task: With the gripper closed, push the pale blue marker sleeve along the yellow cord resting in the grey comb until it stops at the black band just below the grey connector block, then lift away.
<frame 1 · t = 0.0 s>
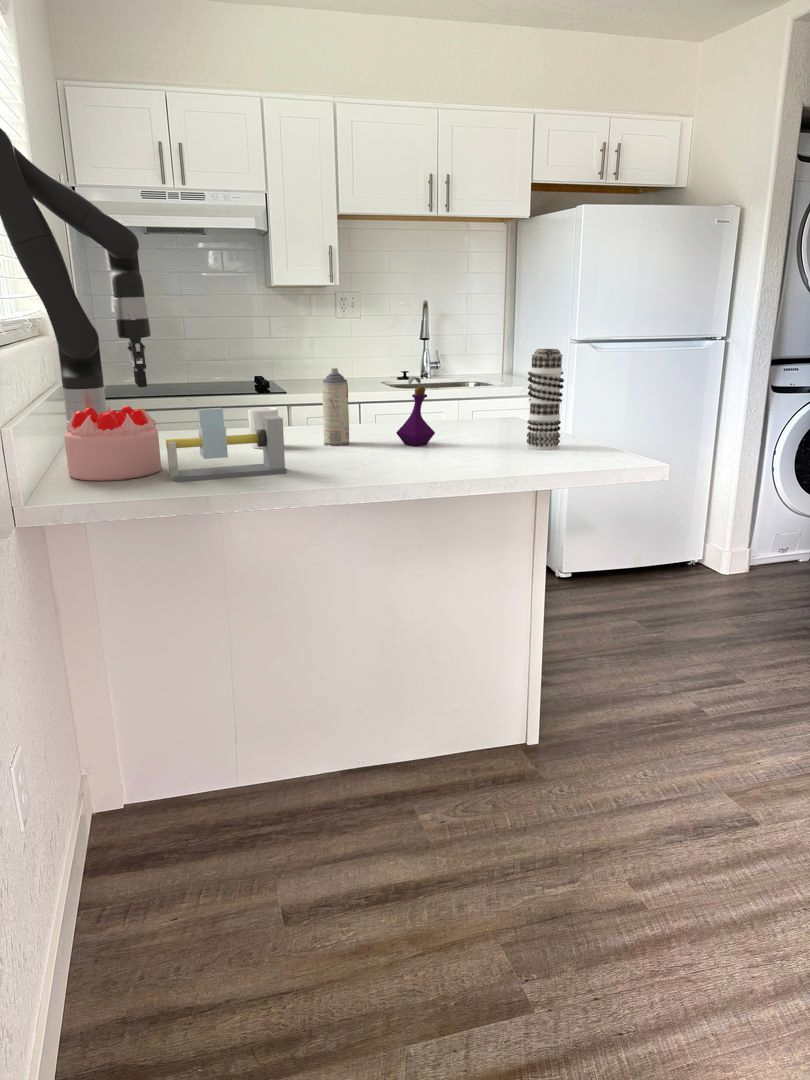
hand: (141, 385, 195), 17 cm above the table, fingers open, 8 cm apart
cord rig: (229, 474, 175), on the table
decorative candle: (542, 448, 207), on the table
white cup: (264, 447, 210), on the table
aerosol can: (336, 444, 214), on the table
perfume bottle: (415, 445, 212), on the table
cake: (117, 473, 178), on the table
marker sleeve: (212, 432, 172), point 9 cm above the table, slide at 0.0 cm
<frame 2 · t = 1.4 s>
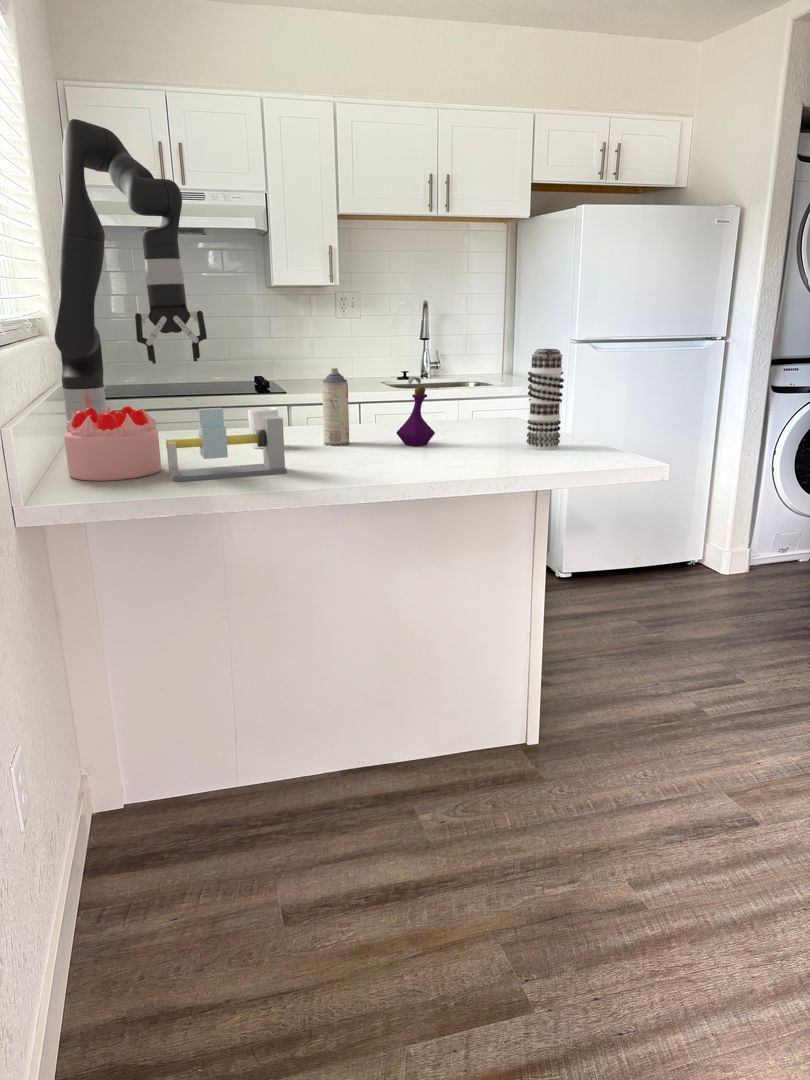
hand: (175, 362, 169), 24 cm above the table, fingers open, 8 cm apart
nothing on the table moved.
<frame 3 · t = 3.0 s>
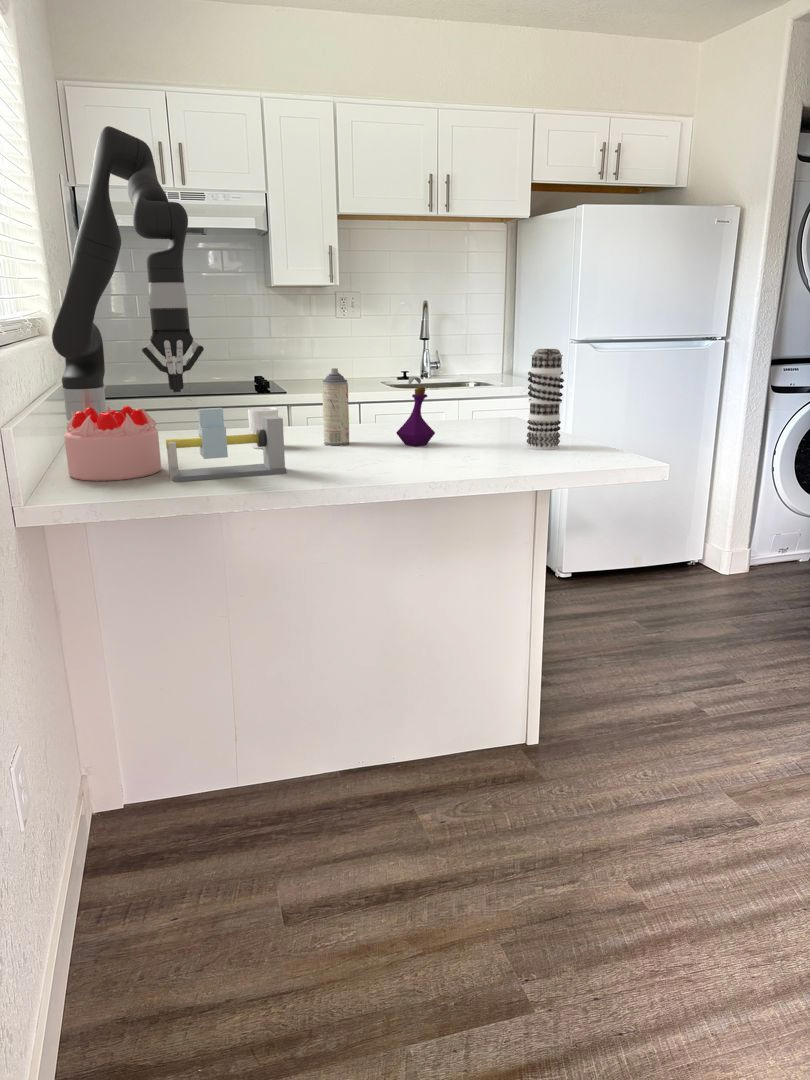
hand: (176, 391, 167), 18 cm above the table, fingers closed
nothing on the table moved.
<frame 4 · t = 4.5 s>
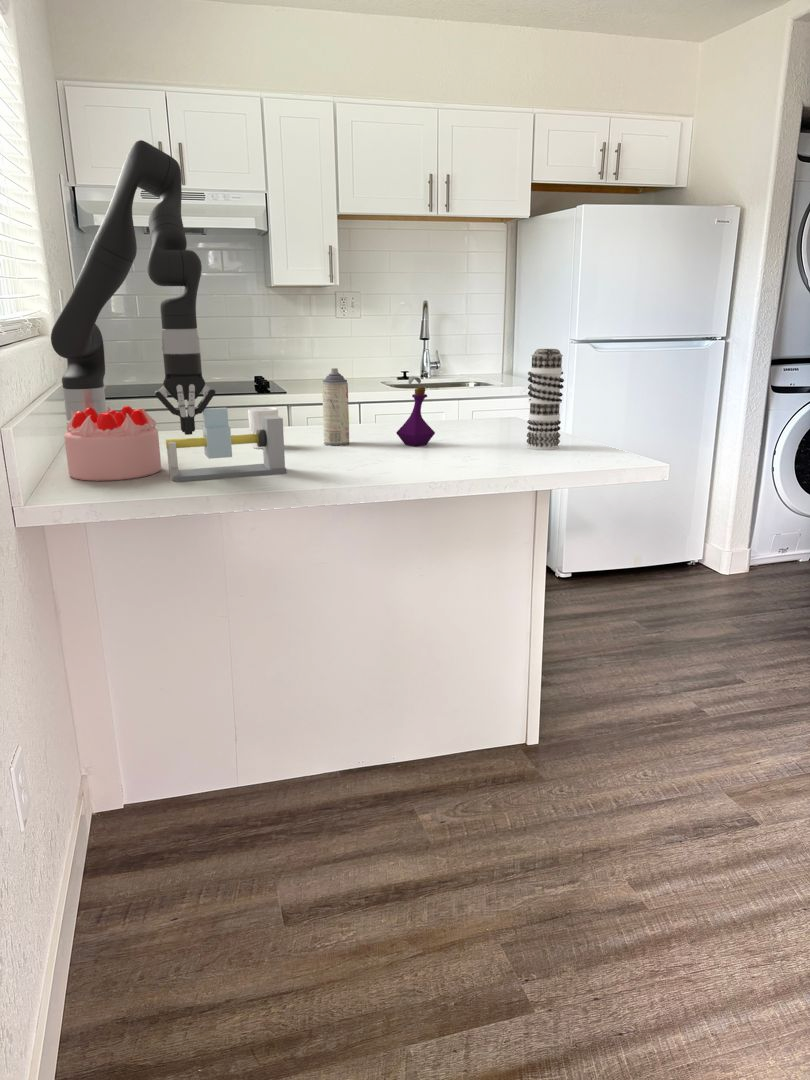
hand: (188, 434, 170), 9 cm above the table, fingers closed
marker sleeve: (216, 432, 172), point 9 cm above the table, slide at 1.0 cm, touching hand
everything else where it was.
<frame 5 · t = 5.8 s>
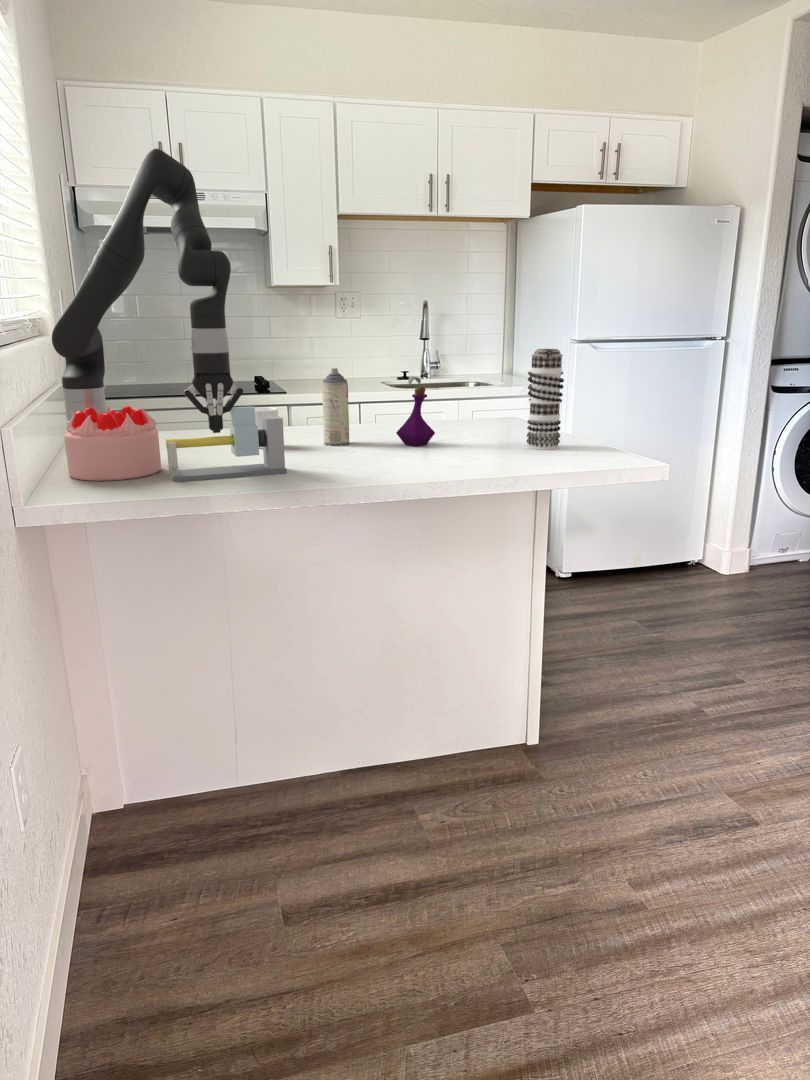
hand: (216, 432, 172), 9 cm above the table, fingers closed
marker sleeve: (243, 430, 174), point 9 cm above the table, slide at 6.9 cm, touching hand
everything else where it was.
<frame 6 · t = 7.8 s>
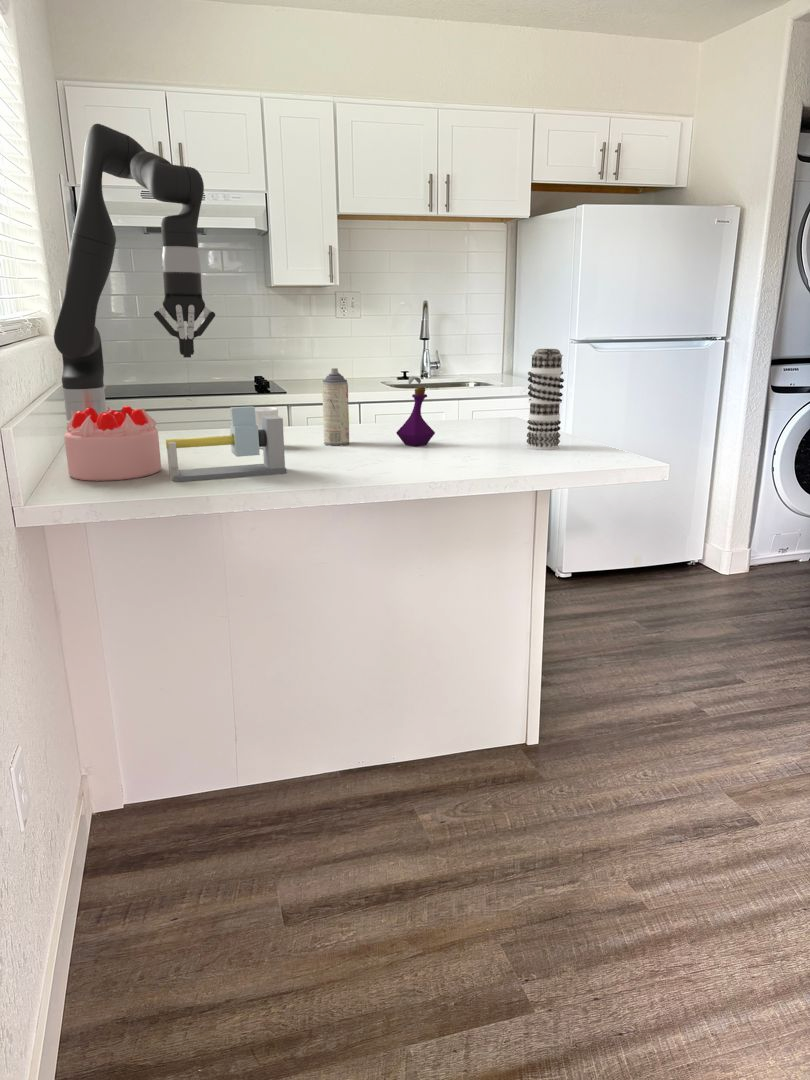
hand: (187, 357, 167), 25 cm above the table, fingers closed
marker sleeve: (244, 430, 174), point 9 cm above the table, slide at 6.9 cm
everything else where it was.
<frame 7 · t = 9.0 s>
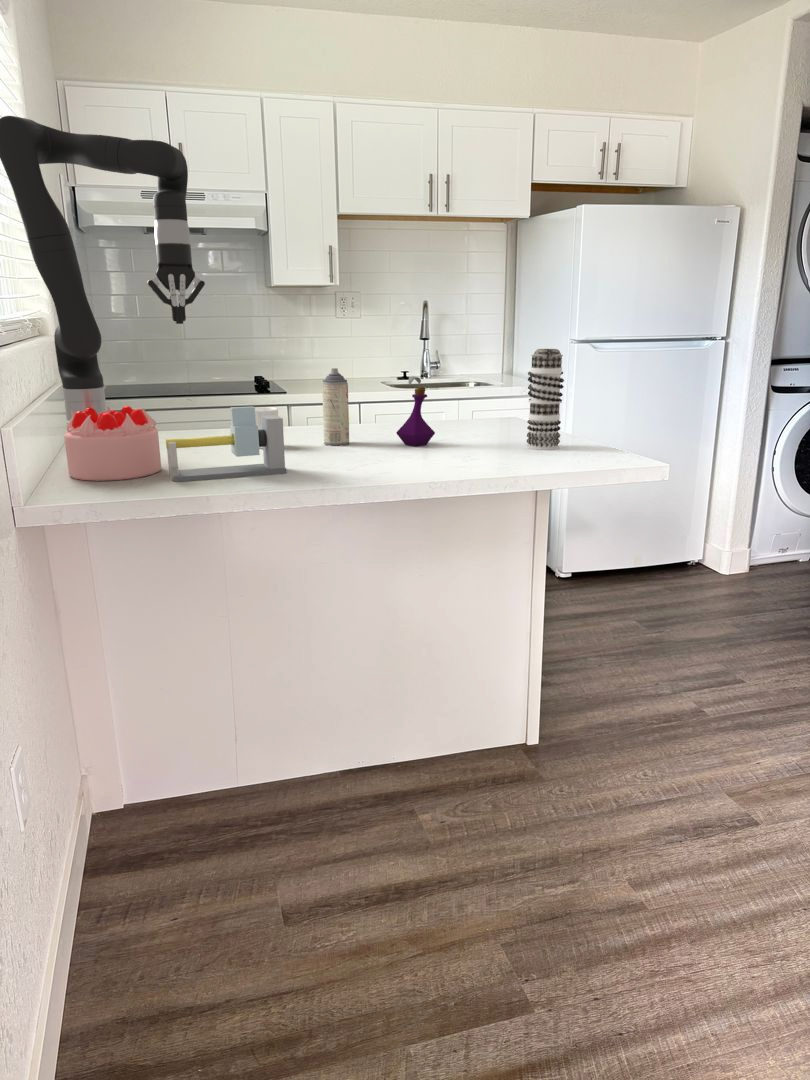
hand: (179, 323, 180), 32 cm above the table, fingers closed
nothing on the table moved.
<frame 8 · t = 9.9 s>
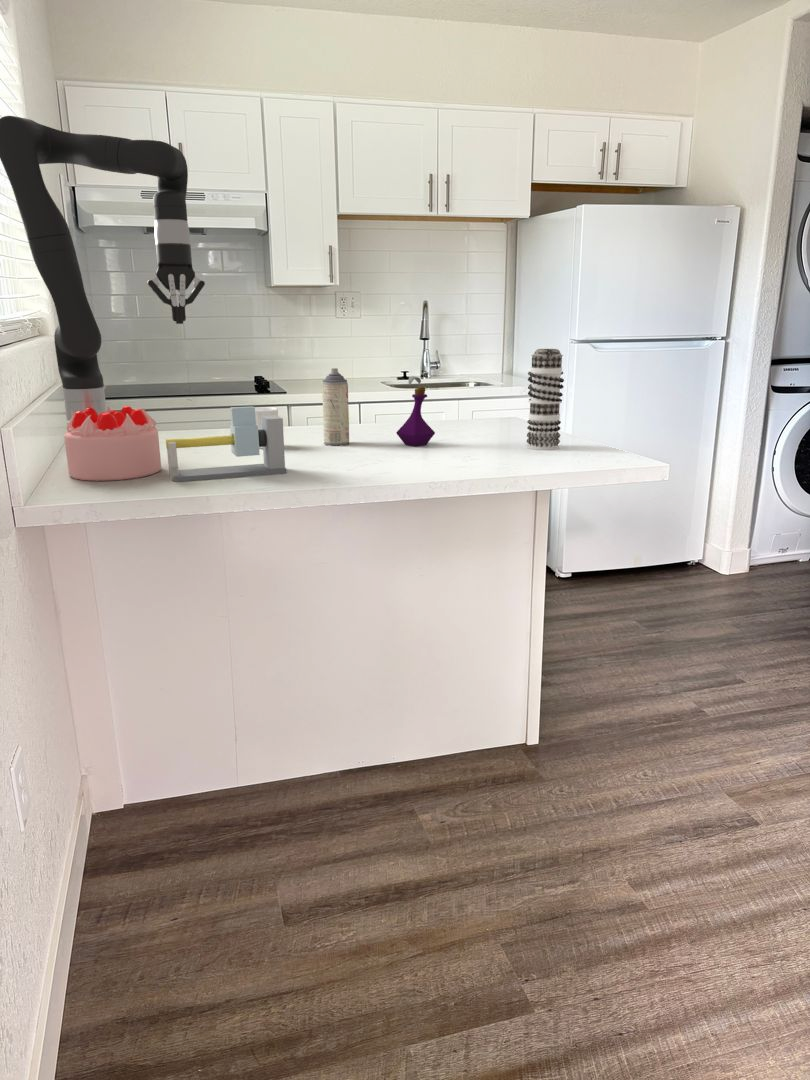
hand: (179, 323, 180), 32 cm above the table, fingers closed
nothing on the table moved.
at the end: marker sleeve slide at 6.9 cm; marker sleeve touching nothing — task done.
